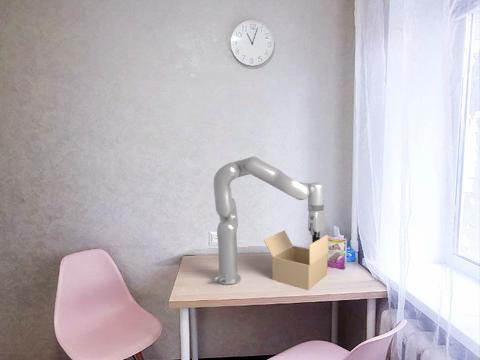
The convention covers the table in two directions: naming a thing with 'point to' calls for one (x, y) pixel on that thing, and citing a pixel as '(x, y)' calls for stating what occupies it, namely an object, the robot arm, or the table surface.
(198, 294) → the table surface
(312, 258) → the near flap
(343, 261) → the candy bar box
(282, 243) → the far flap
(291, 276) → the carton
